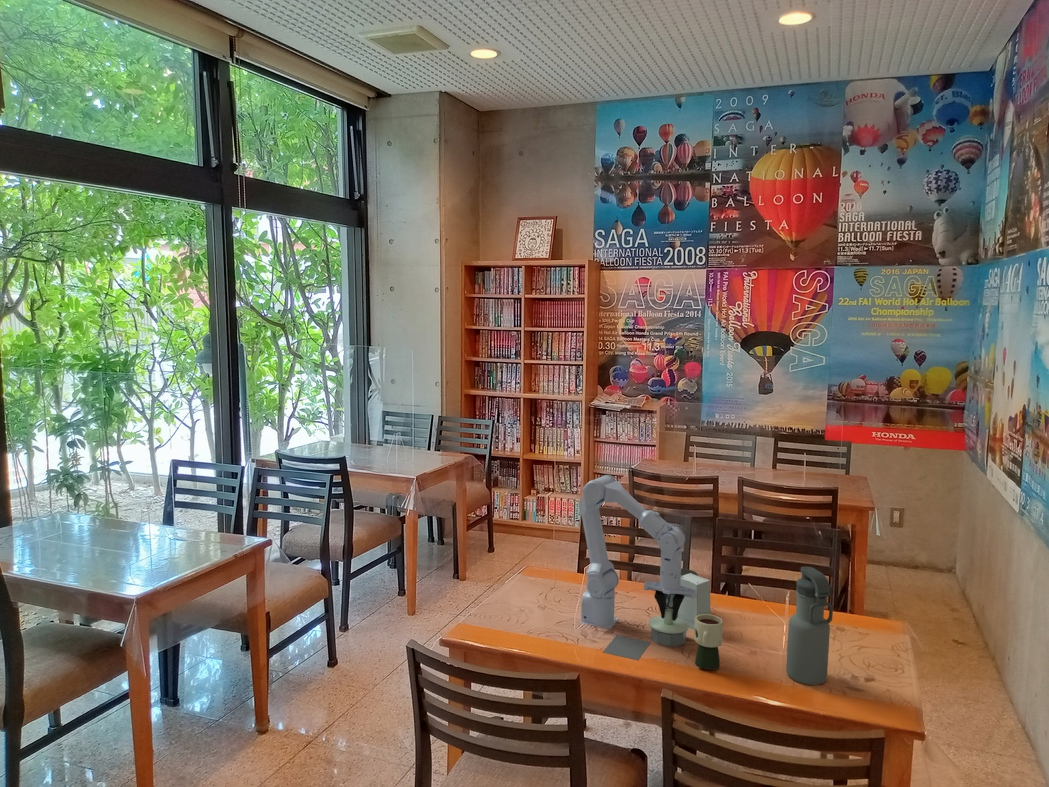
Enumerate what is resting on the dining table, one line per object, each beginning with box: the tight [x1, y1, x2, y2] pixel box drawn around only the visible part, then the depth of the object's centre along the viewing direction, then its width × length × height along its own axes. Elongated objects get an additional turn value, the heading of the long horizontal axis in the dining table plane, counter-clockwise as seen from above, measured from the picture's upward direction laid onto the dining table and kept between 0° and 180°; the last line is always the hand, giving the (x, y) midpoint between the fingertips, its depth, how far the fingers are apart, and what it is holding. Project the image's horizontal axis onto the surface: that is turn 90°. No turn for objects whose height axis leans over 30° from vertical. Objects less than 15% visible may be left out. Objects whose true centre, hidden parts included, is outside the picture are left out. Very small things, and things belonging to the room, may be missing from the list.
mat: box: [602, 634, 651, 661], centre depth 201 cm, size 10×12×1 cm
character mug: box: [693, 613, 724, 670], centre depth 190 cm, size 11×7×13 cm, turn 156°
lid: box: [648, 609, 690, 634], centre depth 205 cm, size 11×11×4 cm
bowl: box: [650, 628, 687, 648], centre depth 205 cm, size 9×9×4 cm
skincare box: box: [677, 573, 711, 631], centre depth 215 cm, size 8×6×15 cm
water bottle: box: [785, 566, 834, 686], centre depth 184 cm, size 10×10×28 cm
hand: (669, 618), depth 205 cm, fingers closed on lid, 3 cm apart
